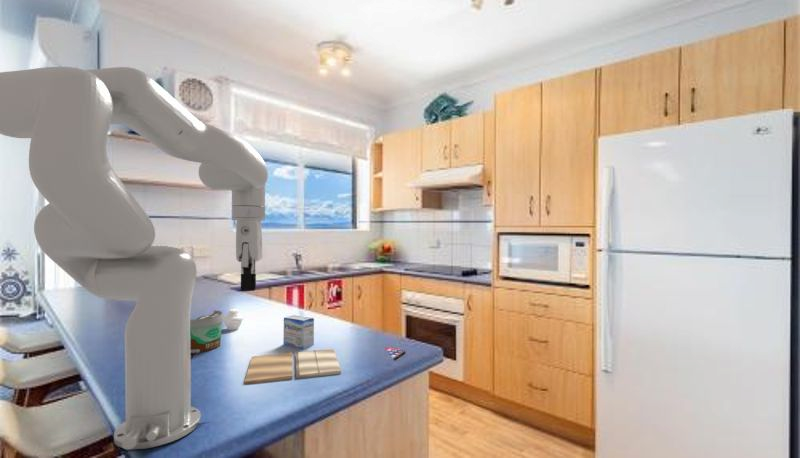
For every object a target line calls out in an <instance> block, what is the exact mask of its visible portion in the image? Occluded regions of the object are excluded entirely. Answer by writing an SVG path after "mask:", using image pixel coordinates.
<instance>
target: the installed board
mask: <svg viewBox="0 0 800 458" xmlns="http://www.w3.org/2000/svg"><path fill="white" fill-rule="evenodd" d="M294 353H295V375H296V376H295V378H296V380H297V379H306V378H314V377H323V376H324V377H325V376H332V375H341V374H342V370H341V367H340V364H339V360H338V358H337V356H336V353H335V349H334V348H326V349H316V350H315V349H313V350H305V351H295V352H294Z"/></svg>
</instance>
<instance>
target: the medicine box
mask: <svg viewBox="0 0 800 458" xmlns="http://www.w3.org/2000/svg"><path fill="white" fill-rule="evenodd" d="M282 343H283V346H288V347H291V348H297V349H302V350H303V349H304V350H305V349H307V348H309V347H312V346H314V345H315V318H313V317H307V316H303V315H295V314H293V315H289V316H286V317H283V342H282Z"/></svg>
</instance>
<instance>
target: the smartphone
mask: <svg viewBox="0 0 800 458" xmlns="http://www.w3.org/2000/svg"><path fill="white" fill-rule="evenodd" d="M384 349H385V351H386V352H387V354H389V355H390V357H391V358H392V360H393V361H396V360H398V359H399V358H401V357H402V356H403V355H404V354H406V350H404V349H399V348H393V347H384Z"/></svg>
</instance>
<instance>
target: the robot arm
mask: <svg viewBox="0 0 800 458" xmlns="http://www.w3.org/2000/svg"><path fill="white" fill-rule="evenodd" d="M111 125H123V126H125V127H128V128H129V129H131V130H132V131H134V132H135V133H136V134H138V135H139V136H141V137H142V138H144V139H145V140H146V141H148V142H150V143H151V144H152V145H154V146H155V147H156V148H158V149H160V150H161V151H162V152H164V153H165V154H166V155H168V156H171V157H173V158H177V159H179V160H184V161H188V162H194V163H199V164H200V165H199V167H198V177H199V180H200V181H201V183H202V184H203V185H204V186H205V187H206V188H208V189H211V190H214V191H231V221H236V223H235V224H236V225H235V226H236V227H235V257H236V261H237V262H238V263H240V270H241V271H240V291H241V292H251V291H252V292H254V291H255V290H257V273H256V263H257V262H259V261H261V260H262V259H263V233H262V230H263V229H262V221H266V183H267V181H268V178H269V170H268V167H267V164H266V162H265V160H264V158H263V157H262V156H261V155H260V154H259V152H258V151H256V150H255V149H254V147H252V145H250V144H249V143H248V142H247V141H245V140H243V139H242V138H240V137H239V136H236V135H235V134H232V133H230V132H227V131H225V130H224V129H223V130H222V129H220V128H218V127H216V126H214V125H211V124H208V123H206V122H203V121H201V120H199V119H198V118H197V117H195V116H194V115H193V114H192V113H191V112H190V111H189V110H188V109H186V108H185V107H184V106H183V105H182V104H181V103H180V102H179V101H178V100H177V99H175V98H174V97H173V96H172V95H171V94H170V93H169V92H168V91H166V89H165V88H164V87H162V86H161V85H160V84H159V83H158V82H156V81H155V80H154V78H152V77H151V76H149V75H148V74H147V73H146V72H144V71H142V70H140V69H137V68H135V67H129V66H128V67H127V66H114V67H106V68H103V67H102V68H95V69H83V68H79V67H73V66H49V67H38V68H37V67H36V68H31V69H30V68H29V69H20V70H10V71H9V70H8V71H1V72H0V135H2V136H6V137H10V138H17V139H30V143H29V150H28V168H29V169H28V171H29V175H30V178H31V181H32V182H33V185H34V186H35V188H36V189H37V190H38V192H39V194H41V196H42V197H43V198H44V199H45V200H46V201H47V203H48V204H45V206H44V207H43V208H41V209H40V210H39V212H38V213H37V215H36V217H35V219H34V224H33V232H34V237H35V240H36V242H37V244H38V246H39V248H40V249H41V250H42V252H43V253H44V254H45V255H46V256H47V257H48V258H49V259H50V260H52V262H54V263H55V265H57V266H58V267H59V268H60V269H62V271H64V272H65V273H66V274H67V275H68V276H69V277H71V279H73V280H74V281H75V282H76V283H77V284H79V286H81V287H82V288H83V289H84V290H86V291H87V292H88V293H90V294H91V295H94V296H95V297H98V298H100V299H103V300H109V301H124V302H128V301H130V302H136V303H135V304H136V305H135V307H134V308H133V310H132V312H131V313H130V315H129V318H128V319H127V322H126V325H125V328H124V329H125V330H124V374H125V376H124V391H125V393H124V394H125V395H124V396H125V401H124V402H125V406H124V407H125V408H124V409H125V421H123V422H122V423H121V424H120V425H119V426H118V427H117V428H116V429H115V430H114V433H113V442H114V444H115V445H116V446H117V447H119V448H122V449H124V450H126V451H127V450H129V451H130V450H145V449H152V448H155V447H160V446H163V445H167V444H169V443H172V442H175V441H177V440H179V439H181V438H183V437H185V436H187V435H189V434H190V433H192V432H193V431H194V430H195V429H196V428H197V427H198V426H199V425H200V421H201V417H202V415H201V411H200V410H199V409H198V408H196V407H195V406H192V405H191V403H192V402H191V400H192V398H191V397H192V396H191V394H192V391H191V390H192V388H191V387H192V386H191V385H192V384H191V382H192V381H191V374H192V373H191V367H192V366H191V365H192V364H191V355H190V320H191V312H192V311H191V310H192V302H193V301H192V299H193V295H194V290H195V285H196V282H197V281H196V280H197V271H198V270H197V264H196V261H195V260H194V258H193V257H192V256H191V254H189V253H188V252H186V251H185V250H183V249H180V248H178V247H173V246H167V245H153V244H154V242H155V239H156V229H155V226H154V223H153V221H152V219H151V218H150V217H149V215H148V214H147V212H146V211H145V209H144V208H143V207H142V206H141V204H140V203H139V202H138V201H137V199H136V198H135V197H134V196H133V195H132V193H131V191H130V190H129V189H128V188H127V187H126V185H125V184H124V183H123V181H122V180H121V179H120V177H119V176H118V174H117V172H116V171H115V170H114V169H113V166H112V165H111V163H110V161H109V157H108V152H107V143H108V134H109V130H110V127H111Z"/></svg>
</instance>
